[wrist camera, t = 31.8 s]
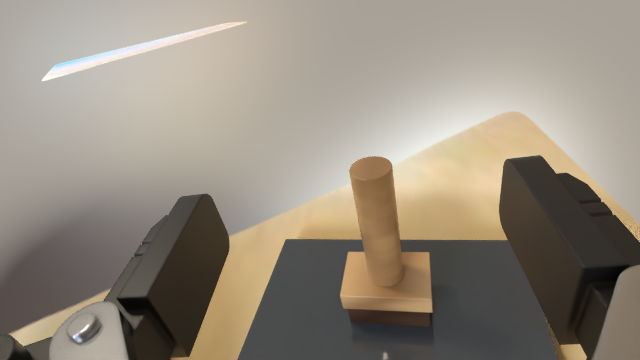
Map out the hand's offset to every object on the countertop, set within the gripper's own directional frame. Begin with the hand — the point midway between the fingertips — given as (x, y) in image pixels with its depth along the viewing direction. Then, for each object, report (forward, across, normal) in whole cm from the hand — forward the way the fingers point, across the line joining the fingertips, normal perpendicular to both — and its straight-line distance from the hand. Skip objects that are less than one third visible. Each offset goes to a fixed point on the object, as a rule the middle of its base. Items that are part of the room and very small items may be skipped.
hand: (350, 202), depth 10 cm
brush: (+11, 0, +19) cm, 22 cm away
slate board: (+11, 0, +20) cm, 23 cm away
